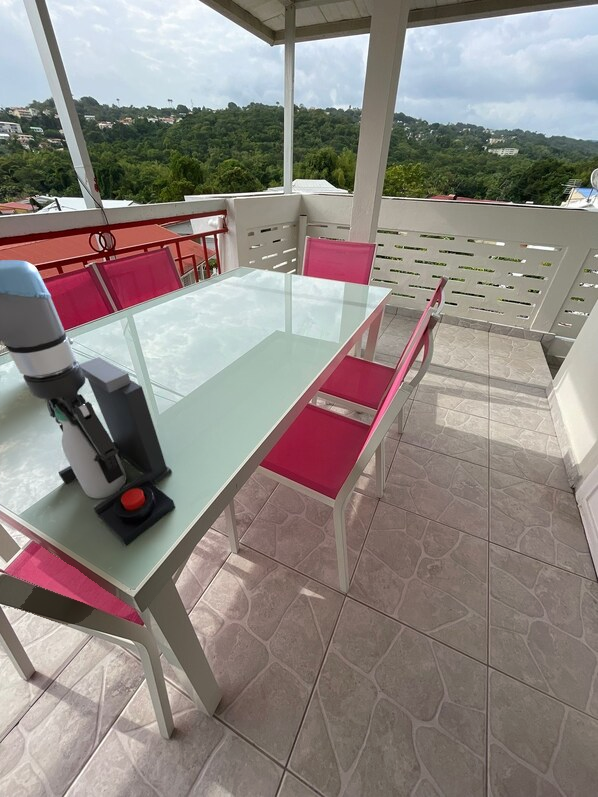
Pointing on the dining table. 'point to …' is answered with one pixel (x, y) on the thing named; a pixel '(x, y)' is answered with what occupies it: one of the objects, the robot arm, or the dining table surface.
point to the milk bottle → (86, 462)
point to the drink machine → (124, 426)
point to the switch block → (137, 514)
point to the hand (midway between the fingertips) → (96, 462)
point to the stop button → (133, 499)
